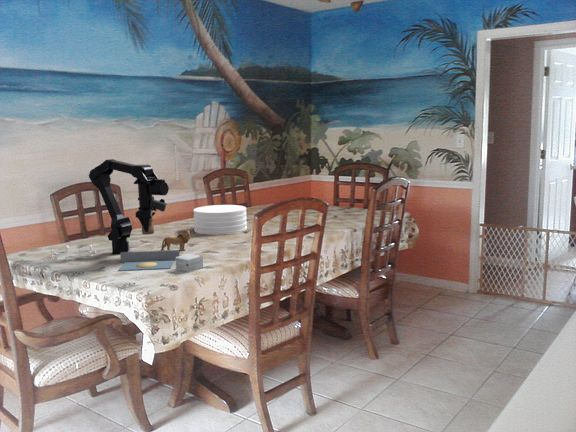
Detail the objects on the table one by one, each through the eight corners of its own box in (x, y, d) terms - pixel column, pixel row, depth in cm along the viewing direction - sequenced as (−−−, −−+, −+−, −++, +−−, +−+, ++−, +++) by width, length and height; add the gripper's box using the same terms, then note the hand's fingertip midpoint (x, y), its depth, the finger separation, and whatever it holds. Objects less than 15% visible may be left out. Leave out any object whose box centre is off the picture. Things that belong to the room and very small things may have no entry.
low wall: (120, 262, 230) (120, 252, 230) (121, 261, 231) (120, 252, 231) (179, 259, 232) (178, 250, 232) (179, 259, 233) (179, 249, 233)
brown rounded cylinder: (141, 234, 237) (140, 220, 236) (143, 232, 242) (142, 218, 241) (153, 234, 238) (152, 220, 237) (154, 232, 242) (154, 218, 241)
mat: (118, 271, 216) (118, 269, 216) (124, 263, 228) (124, 262, 228) (170, 268, 218) (170, 267, 218) (173, 261, 230) (173, 259, 230)
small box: (175, 269, 217) (174, 256, 216) (191, 265, 223) (190, 253, 222) (188, 272, 212) (187, 259, 211) (204, 268, 218) (203, 255, 217)
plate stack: (244, 234, 284) (243, 212, 282) (189, 235, 284) (188, 213, 283) (249, 224, 311) (248, 204, 309) (199, 225, 312) (198, 205, 310)
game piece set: (50, 253, 251) (49, 245, 251) (96, 249, 258) (96, 241, 258) (48, 263, 233) (47, 254, 233) (98, 258, 240) (97, 249, 240)
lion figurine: (189, 247, 255) (188, 228, 254) (193, 249, 251) (192, 230, 249) (157, 251, 248) (156, 232, 246) (161, 254, 243) (160, 234, 242)
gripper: (161, 196, 229) (163, 234, 231) (167, 191, 247) (169, 226, 249) (134, 197, 228) (136, 235, 230) (141, 192, 246) (144, 227, 249)
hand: (147, 230), depth 240 cm, fingers closed on brown rounded cylinder, 5 cm apart
